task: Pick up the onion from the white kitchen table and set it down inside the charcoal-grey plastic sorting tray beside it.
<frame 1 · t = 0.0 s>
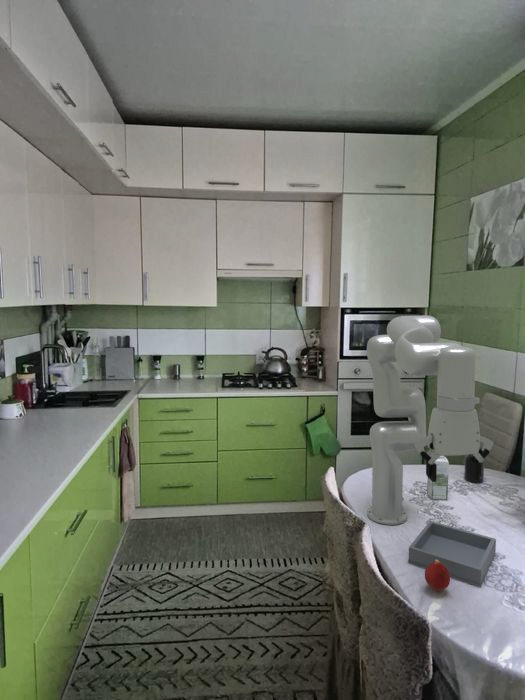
hand: (453, 478, 102), 31 cm above the table, tool pointing down, fingers open, 9 cm apart
sorting tray: (452, 558, 125), on the table
supplement bottle: (473, 480, 177), on the table
syrup box: (437, 497, 163), on the table
onion: (437, 591, 112), on the table
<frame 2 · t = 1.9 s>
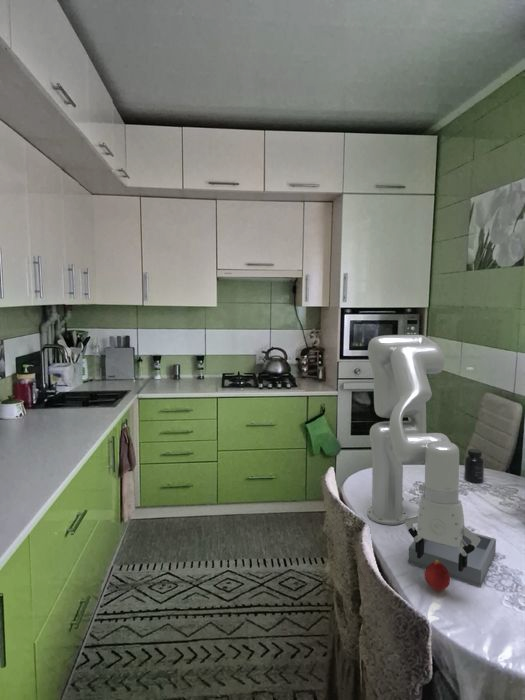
hand: (440, 562, 110), 8 cm above the table, tool pointing down, fingers open, 9 cm apart
nothing on the table moved.
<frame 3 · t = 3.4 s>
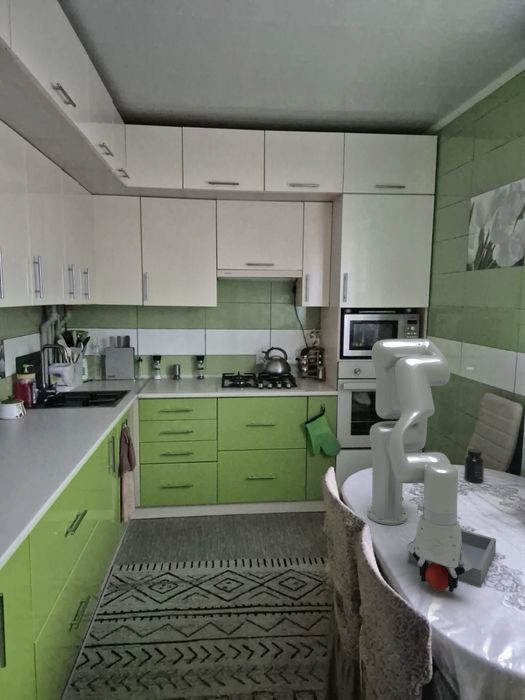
hand: (438, 583, 112), 2 cm above the table, tool pointing down, fingers closed on onion, 5 cm apart
onion: (437, 591, 112), on the table, touching gripper
everything else where it was.
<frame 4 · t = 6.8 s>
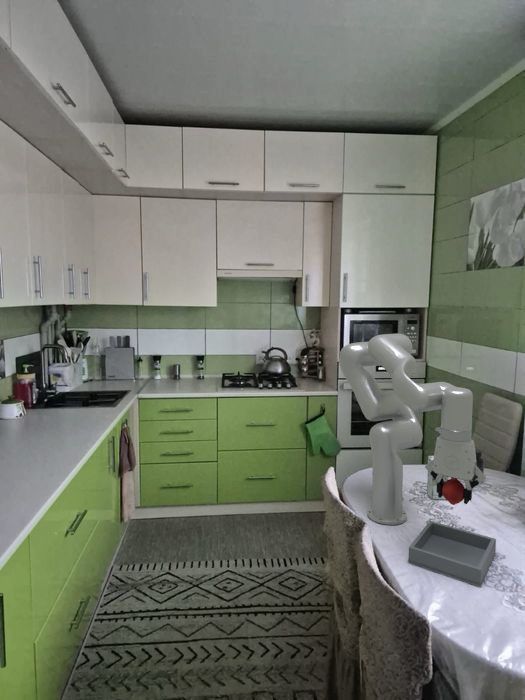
hand: (453, 498, 123), 17 cm above the table, tool pointing down, fingers closed on onion, 5 cm apart
onion: (453, 505, 123), point 15 cm above the table, touching gripper
everything else where it was.
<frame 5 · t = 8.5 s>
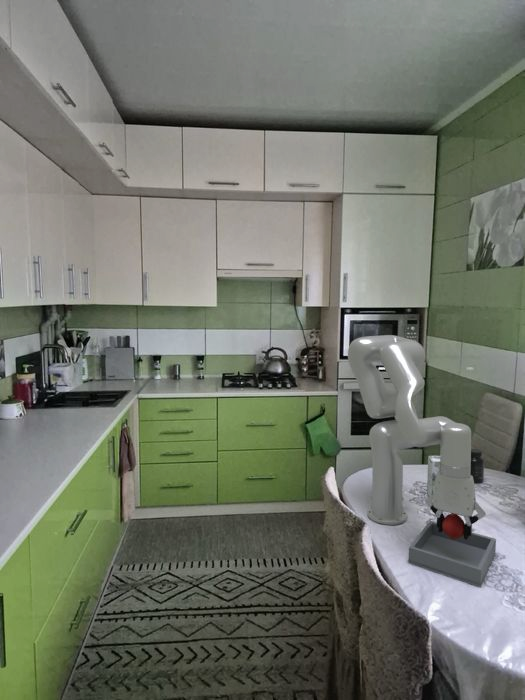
hand: (453, 533, 124), 7 cm above the table, tool pointing down, fingers closed on onion, 5 cm apart
onion: (453, 540, 124), point 6 cm above the table, touching gripper
everything else where it was.
when the fingers open (4 cm above the table, at t = 10.0 s): onion drops 2 cm, resting on sorting tray.
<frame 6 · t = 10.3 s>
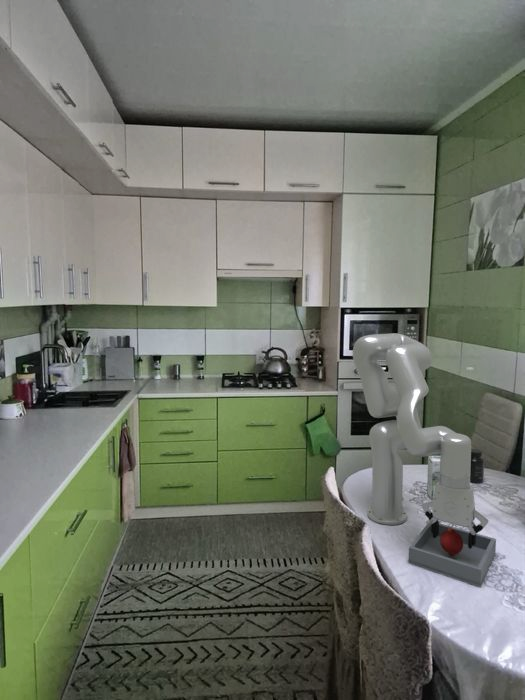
hand: (452, 540, 124), 5 cm above the table, tool pointing down, fingers open, 8 cm apart
onion: (452, 556, 125), point 1 cm above the table, touching sorting tray
everything else where it was.
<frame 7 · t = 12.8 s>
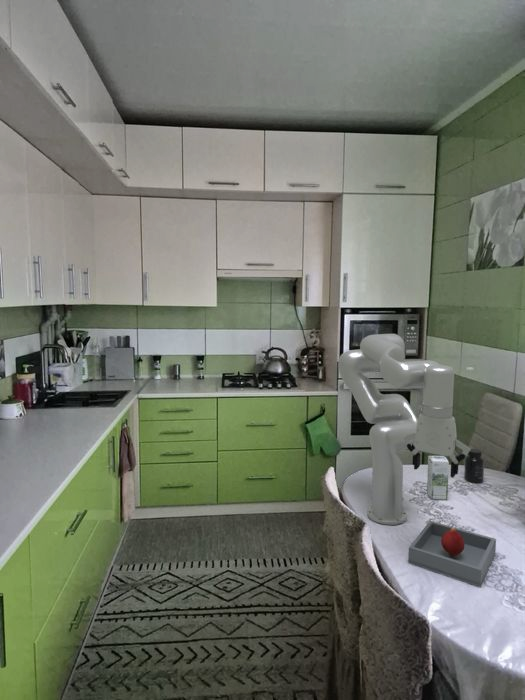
hand: (434, 471, 125), 24 cm above the table, tool pointing down, fingers open, 9 cm apart
nothing on the table moved.
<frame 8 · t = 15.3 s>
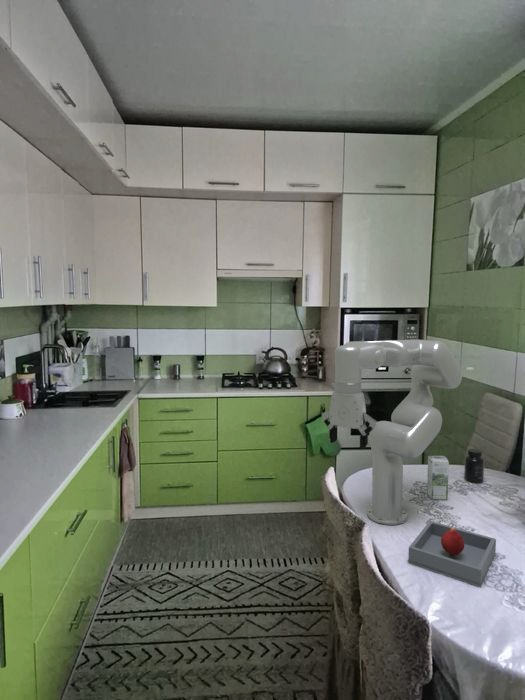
hand: (348, 444, 135), 28 cm above the table, tool pointing down, fingers open, 9 cm apart
nothing on the table moved.
at the end: onion inside the target area on the sorting tray (0.3 cm from its centre), point 0.8 cm above the sorting tray's base; the gripper is holding nothing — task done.
